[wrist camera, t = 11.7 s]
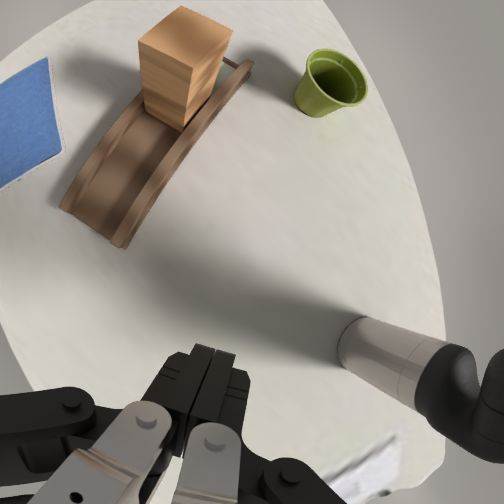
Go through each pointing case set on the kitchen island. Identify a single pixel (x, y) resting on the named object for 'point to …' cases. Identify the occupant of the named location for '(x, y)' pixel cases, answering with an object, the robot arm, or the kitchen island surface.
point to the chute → (141, 161)
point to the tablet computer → (28, 123)
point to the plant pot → (330, 83)
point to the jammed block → (181, 65)
